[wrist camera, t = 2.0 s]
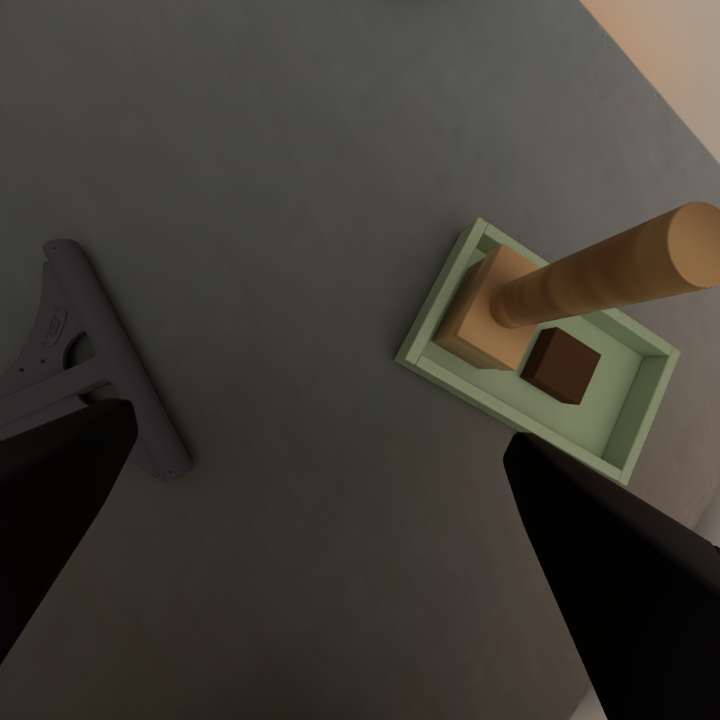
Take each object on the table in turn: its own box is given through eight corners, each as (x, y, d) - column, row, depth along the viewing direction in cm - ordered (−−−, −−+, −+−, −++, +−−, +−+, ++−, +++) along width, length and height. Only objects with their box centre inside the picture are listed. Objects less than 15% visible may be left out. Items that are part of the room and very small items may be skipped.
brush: (478, 371, 22) (719, 370, 9) (428, 341, 22) (610, 297, 9) (515, 295, 23) (785, 197, 10) (467, 265, 22) (689, 119, 9)
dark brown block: (583, 355, 24) (602, 354, 22) (562, 403, 23) (580, 405, 22) (541, 329, 23) (557, 326, 22) (518, 377, 23) (533, 377, 21)
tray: (646, 353, 25) (681, 351, 23) (595, 475, 24) (626, 486, 22) (461, 232, 23) (479, 216, 21) (393, 360, 22) (404, 359, 19)
